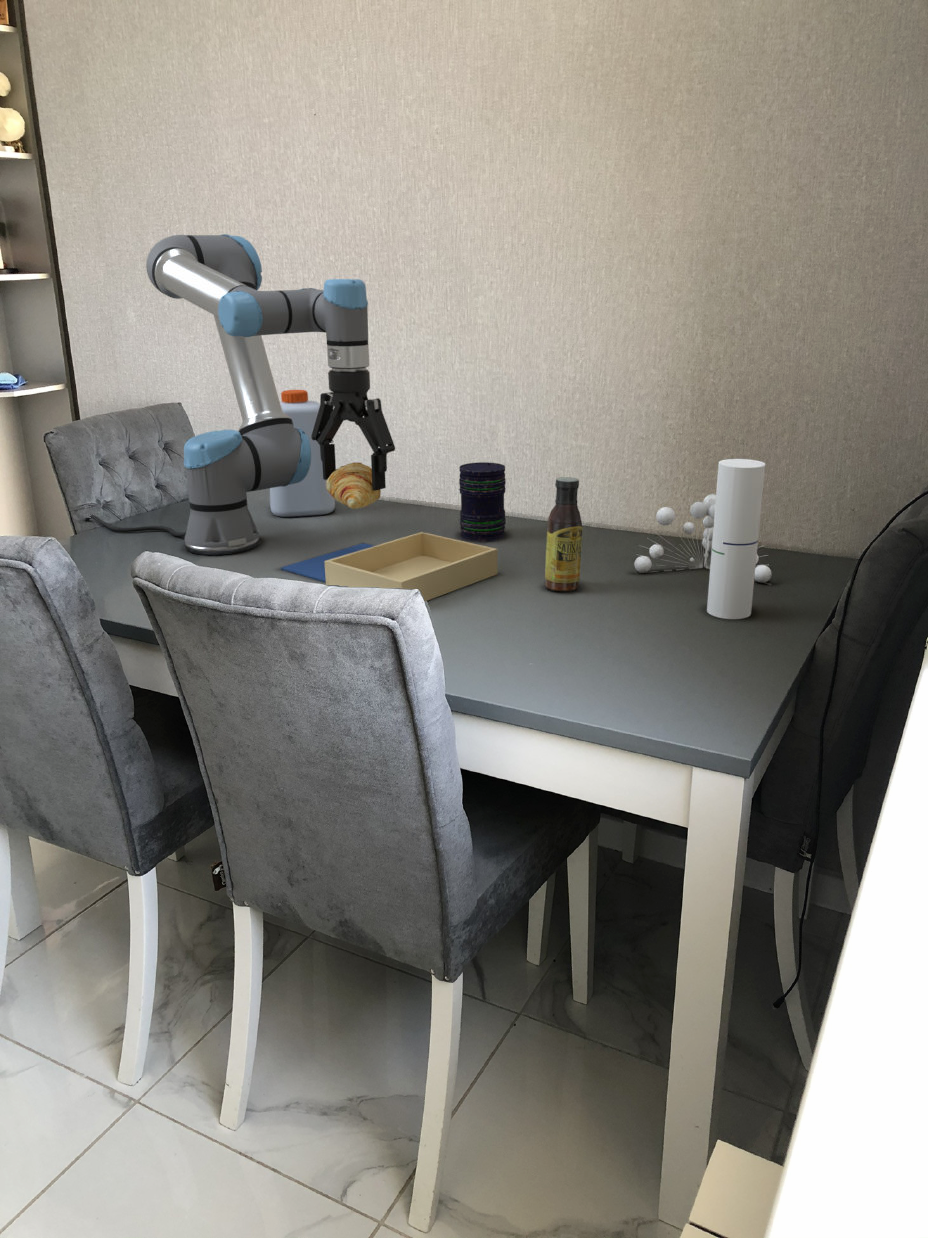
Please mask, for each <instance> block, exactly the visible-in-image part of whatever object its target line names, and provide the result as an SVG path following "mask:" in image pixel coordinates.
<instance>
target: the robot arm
mask: <svg viewBox="0 0 928 1238" xmlns="http://www.w3.org/2000/svg"><path fill="white" fill-rule="evenodd" d="M145 266H146V267H145V268H146V273H147V276H148V279H149V281H150V283H151V284H152V285H153V287H154V288H155V289H156V290H157V291H158V292H160V293H161V294H163V295H166V296H167V297H169V298H171V299H177V300H181V299H182V300H185V301H187V302H189V303H191V304H193V305H195V306H196V307H198V308H200V309H202V310H204V311H206V312H208V313H210V314H211V315H213V318H214V322H215V326H216V330H217V333H218V336H219V340H220V343H221V347H222V351H223V354H224V358H225V361H226V362H225V363H226V365H227V369H228V373H229V376H230V380H231V383H232V387H233V390H234V394H235V398H236V402H237V406H238V409H239V412H240V415H241V418H242V422H241V424H240V426H239V428H238V429H221V430H212V431H208V432H204V433H200V434H197V435H194V436H193V437H191V438H189V439H188V440H187V441H186V442H185V444H184V445H183V465H184V469H185V470H184V472H185V477H186V478H185V479H186V485H187V486H186V487H187V495H188V501H189V502H188V503H189V517H188V521H187V526H186V531H184V532H178V531H175V530H174V529H173V528H171V527H169V526H166V525H165V526H163V525H148V526H147V525H146V526H135V527H119V526H114V525H112V524H110V523H109V522H106V521H104V520H103V519H101V518H100V517H98V516H96V515H94V514H92V515H91V514H90V515H91V516H90V517H91V518H86V517H85V518H84V520H83V522H89V521H90V520H91V519H92V520H94V521H95V522H96V523H98V524H99V525H101V526H103V527H106V528H107V529H109V530H111V531H114V532H120V533H136V532H146V531H165V532H168V533H170V534H171V535H172V536H174V537H178V538H184V548H185V550H186V551H188V552H190V553H192V554H196V555H205V556H221V555H230V554H231V555H232V554H238V553H243V552H247V551H249V550H252V549H254V548H256V547H257V546H259V545H260V534H259V531H258V529H257V526H256V524H255V521H254V519H253V517H252V515H251V512H250V511H249V507H248V499H247V498H248V496H247V493H249V492H250V493H251V492H257V491H263V490H267V489H270V488H274V487H280V486H282V487H286V486H288V485H291V484H295V483H299V482H301V481H302V480H303V479H304V478H305V477H306V476H307V474H308V472H309V468H310V465H311V446H310V441H309V439H308V436H307V435H306V434H305V432H304V431H303V430H302V429H299V428H294V425H293V422H292V418H291V417H289V416H288V415H286V414H284V413H283V412H282V409H281V405H280V402H281V401H280V398H279V394H278V391H277V386H276V383H275V381H274V376H273V372H272V369H271V365H270V361H269V358H268V355H267V351H266V347H265V344H264V340H263V336H271V335H284V334H285V335H287V334H302V333H303V334H304V333H325V336H326V338H325V339H326V350H327V351H326V353H327V366H328V368H330V369H329V370H328V372H327V376H328V377H327V378H328V390H329V392H322V393H320V396H319V397H320V399H319V401H320V402H319V404H320V407H319V411H318V414H317V418H316V421H315V425H314V428H313V432H312V435H311V438H312V440H316V441H317V442H318V444H319V445H320V456H321V461H322V466H323V479H324V480H327V479H328V478H329V477H330V475H331V474H332V473H333V472H334V471H335V470H336V469H337V466H336V465H337V464H336V462H337V461H336V444H335V443H334V438H335V436H336V434H337V433H338V431H339V429H340V427H341V426H342V424H343V422H344V421H349V422H351V423H354V424H355V425H356V426H358V427H359V429H360V431H361V432H362V434H363V436H364V437H365V440H366V441H367V443H368V445H369V447H370V448H371V450H372V451H373V453H372V454H370V461H371V463H370V464H371V467H370V468H371V469H372V490H374V491H376V490H384V489H386V487H387V486H386V483H387V482H386V472H387V471H388V463H387V462H388V460H387V459H388V457H387V455H388V454H389V453H392V452H395V451H396V446H395V443H394V440H393V437H392V435H391V431H390V429H389V426H388V423H387V420H386V419H385V416H384V413H383V408H382V401H381V398H379V397H378V398H370V399H369V398H368V392H369V391H370V390H371V376H370V374H371V373H370V371H369V369H367V368H369V366H370V348H369V312H368V311H369V309H368V306H369V302H368V299H367V287H366V286H367V285H366V282H364V280H363V279H359V278H330V279H325V281H324V283H323V289H317V288H313V287H307V288H306V287H304V288H300V289H287V290H286V289H281V290H259V289H260V288H261V286H262V282H263V276H262V274H261V273H263V269H262V263H261V259H260V256H259V254H258V252H257V250H256V248H255V246H253V244H252V242H250V240H248V239H246V238H245V237H243V236H240V235H230V234H224V233H223V234H187V235H186V234H175V235H169V236H166V237H164V238H162V239H161V240H159V241H157V242H156V243H155V244H154V245H153V246H152V248H151V249H150V251H149V252H148V254H147V257H146V264H145ZM319 432H320V433H319Z"/></svg>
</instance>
